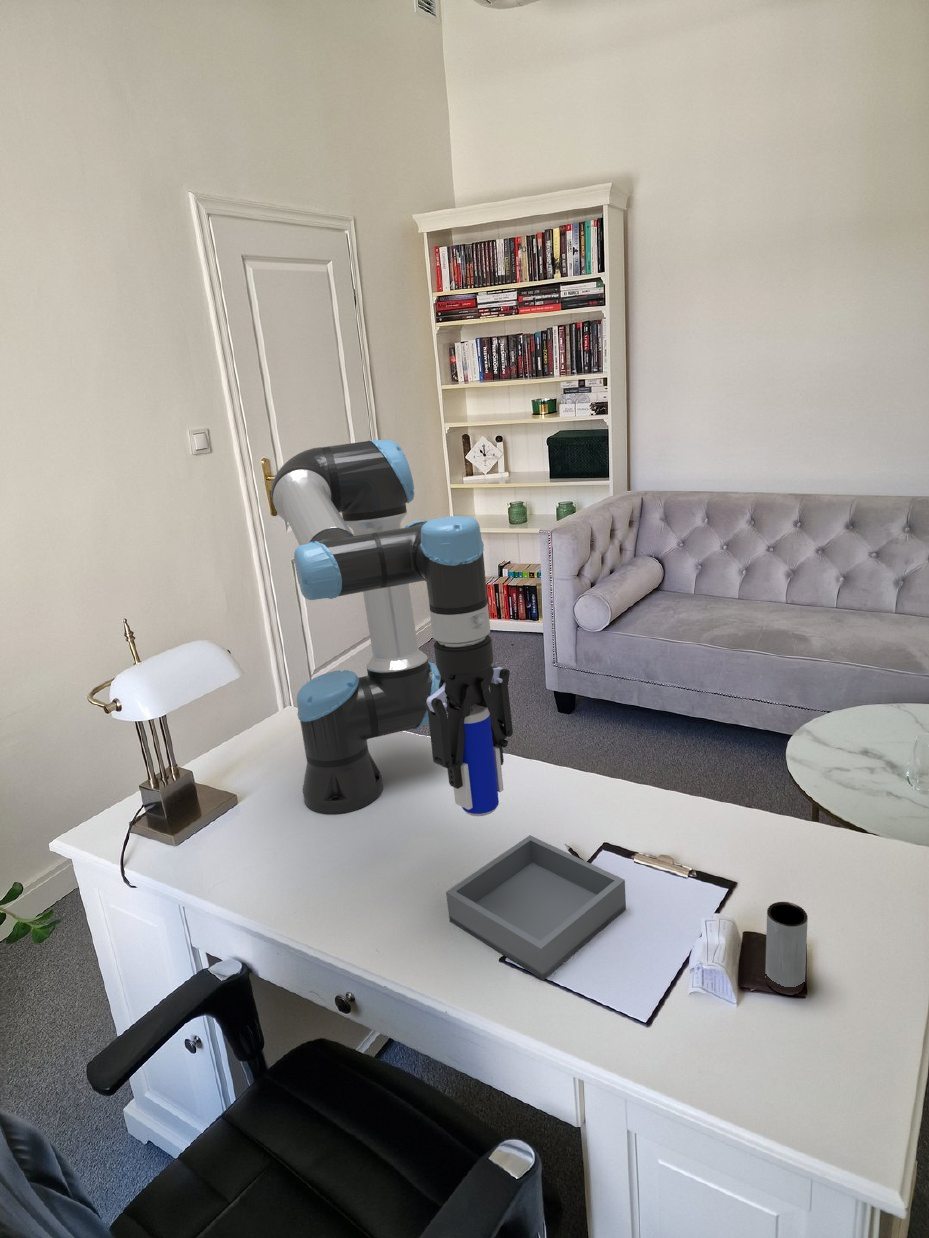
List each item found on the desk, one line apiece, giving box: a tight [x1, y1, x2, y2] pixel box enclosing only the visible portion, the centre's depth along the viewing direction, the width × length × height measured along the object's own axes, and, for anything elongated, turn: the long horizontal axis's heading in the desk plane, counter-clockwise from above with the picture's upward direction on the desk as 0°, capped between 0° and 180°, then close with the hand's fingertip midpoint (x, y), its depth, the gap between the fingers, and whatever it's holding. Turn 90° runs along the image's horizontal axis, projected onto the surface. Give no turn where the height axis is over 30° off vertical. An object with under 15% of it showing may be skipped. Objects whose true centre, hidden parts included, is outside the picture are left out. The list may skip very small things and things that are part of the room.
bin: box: [445, 835, 627, 981], centre depth 115 cm, size 18×18×5 cm
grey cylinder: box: [765, 901, 809, 987], centre depth 98 cm, size 4×4×10 cm
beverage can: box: [458, 704, 500, 817], centre depth 110 cm, size 5×5×15 cm
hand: (479, 796), depth 111 cm, fingers closed on beverage can, 5 cm apart
